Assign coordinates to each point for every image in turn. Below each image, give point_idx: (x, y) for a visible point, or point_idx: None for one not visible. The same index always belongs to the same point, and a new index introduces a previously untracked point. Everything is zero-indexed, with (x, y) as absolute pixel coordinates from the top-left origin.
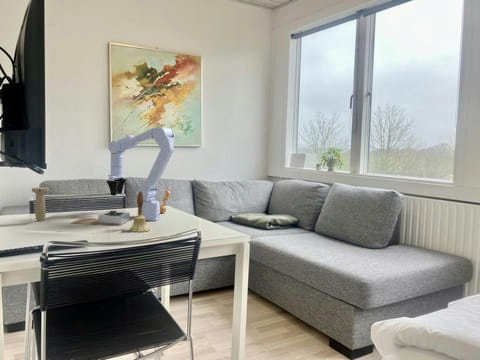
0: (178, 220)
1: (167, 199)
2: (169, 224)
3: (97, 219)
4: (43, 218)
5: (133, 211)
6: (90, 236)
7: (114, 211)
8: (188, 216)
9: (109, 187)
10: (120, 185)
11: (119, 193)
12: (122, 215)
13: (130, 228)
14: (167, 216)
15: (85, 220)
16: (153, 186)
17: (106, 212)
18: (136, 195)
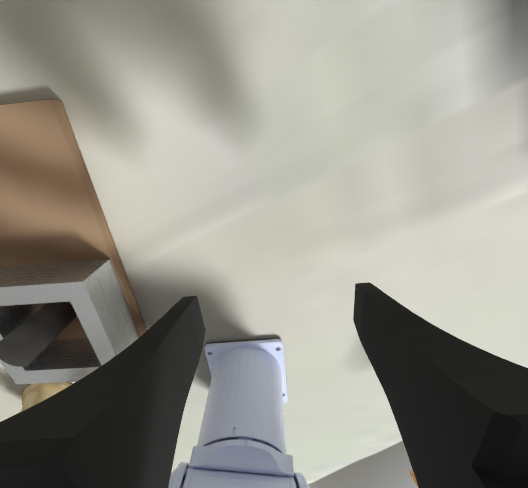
0: None
1: (413, 478)
2: (192, 441)
3: (70, 215)
4: None
5: (436, 253)
6: None
7: (9, 363)
8: (352, 453)
9: (113, 360)
10: (399, 393)
11: (354, 305)
12: (43, 378)
13: (30, 390)
14: (332, 407)
15: (3, 167)
16: None
17: (51, 289)
18: (171, 483)
